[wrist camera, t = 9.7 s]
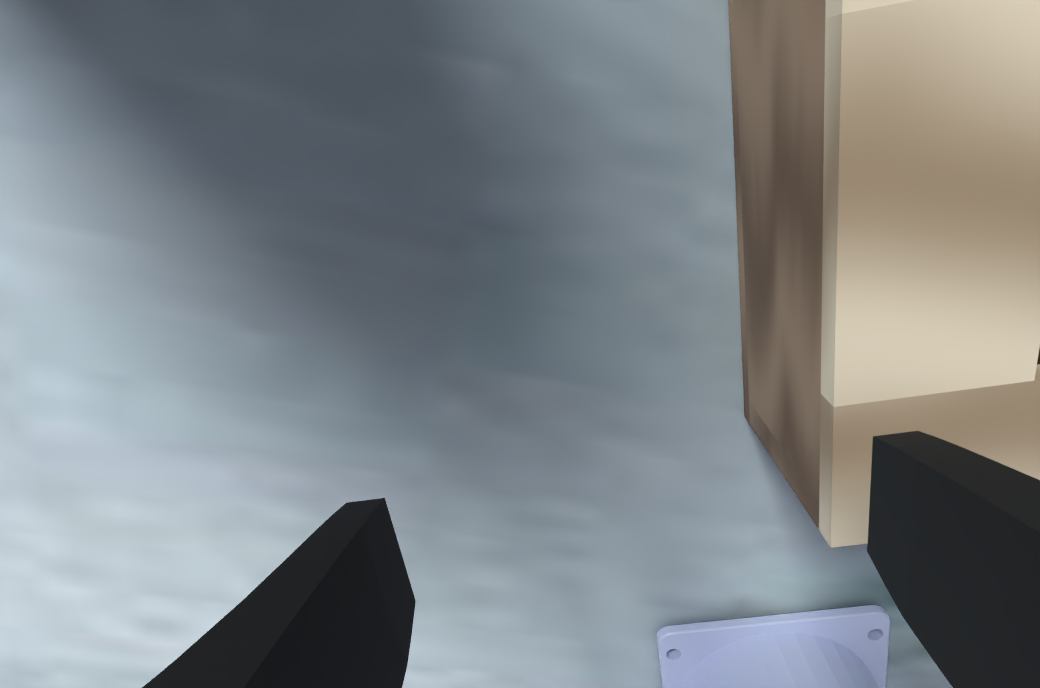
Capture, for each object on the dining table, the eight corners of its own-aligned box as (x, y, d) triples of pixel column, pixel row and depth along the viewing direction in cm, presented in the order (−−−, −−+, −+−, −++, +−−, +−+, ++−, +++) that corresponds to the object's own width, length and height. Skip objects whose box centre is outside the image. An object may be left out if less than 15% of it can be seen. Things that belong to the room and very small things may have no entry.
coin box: (1124, 366, 18) (1389, 485, 12) (744, 416, 19) (830, 547, 13) (1251, -232, 13) (1797, -490, 7) (723, -122, 14) (848, -274, 8)
